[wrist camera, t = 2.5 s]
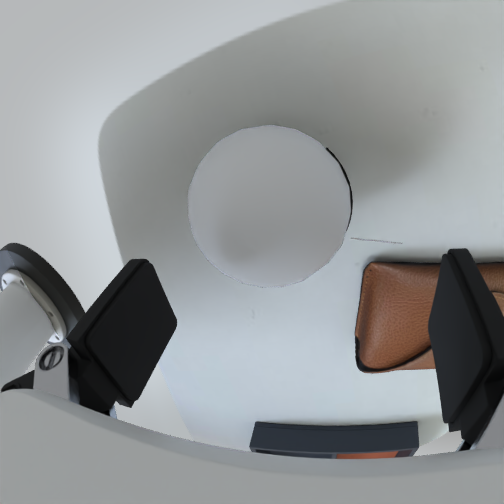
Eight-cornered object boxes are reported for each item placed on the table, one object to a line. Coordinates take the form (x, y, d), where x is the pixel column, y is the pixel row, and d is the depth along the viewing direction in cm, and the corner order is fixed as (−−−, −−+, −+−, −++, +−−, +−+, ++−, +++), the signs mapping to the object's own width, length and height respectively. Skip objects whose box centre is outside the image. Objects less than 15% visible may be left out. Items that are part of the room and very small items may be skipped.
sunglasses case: (569, 249, 13) (585, 336, 10) (530, 284, 19) (539, 355, 16) (358, 259, 18) (359, 371, 15) (353, 296, 24) (353, 378, 21)
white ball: (202, 208, 19) (146, 281, 13) (240, 94, 15) (182, 113, 9) (348, 271, 19) (350, 363, 13) (409, 172, 15) (457, 242, 9)
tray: (270, 455, 40) (265, 475, 37) (255, 421, 34) (249, 446, 31) (396, 456, 35) (396, 476, 32) (417, 421, 28) (419, 447, 25)
